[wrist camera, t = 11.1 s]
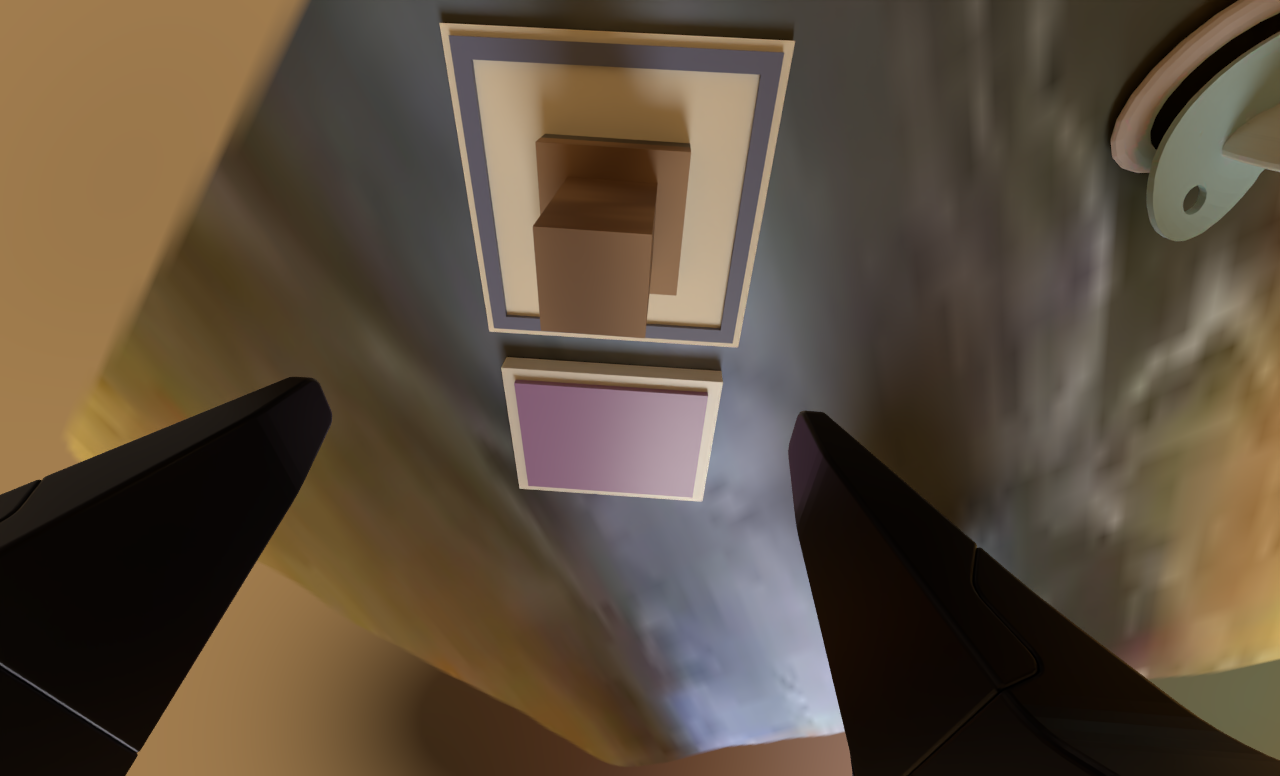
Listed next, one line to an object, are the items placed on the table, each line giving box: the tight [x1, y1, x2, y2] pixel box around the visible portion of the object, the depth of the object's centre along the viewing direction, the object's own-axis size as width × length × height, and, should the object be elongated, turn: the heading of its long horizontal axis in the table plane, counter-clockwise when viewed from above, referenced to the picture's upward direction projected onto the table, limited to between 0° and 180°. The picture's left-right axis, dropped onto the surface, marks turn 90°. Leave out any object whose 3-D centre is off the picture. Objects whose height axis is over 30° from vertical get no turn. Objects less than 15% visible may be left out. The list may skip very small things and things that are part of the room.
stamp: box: [533, 134, 691, 338], centre depth 16 cm, size 5×5×6 cm
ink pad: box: [501, 357, 723, 501], centre depth 25 cm, size 10×8×1 cm
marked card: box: [440, 23, 795, 347], centre depth 18 cm, size 11×11×1 cm
